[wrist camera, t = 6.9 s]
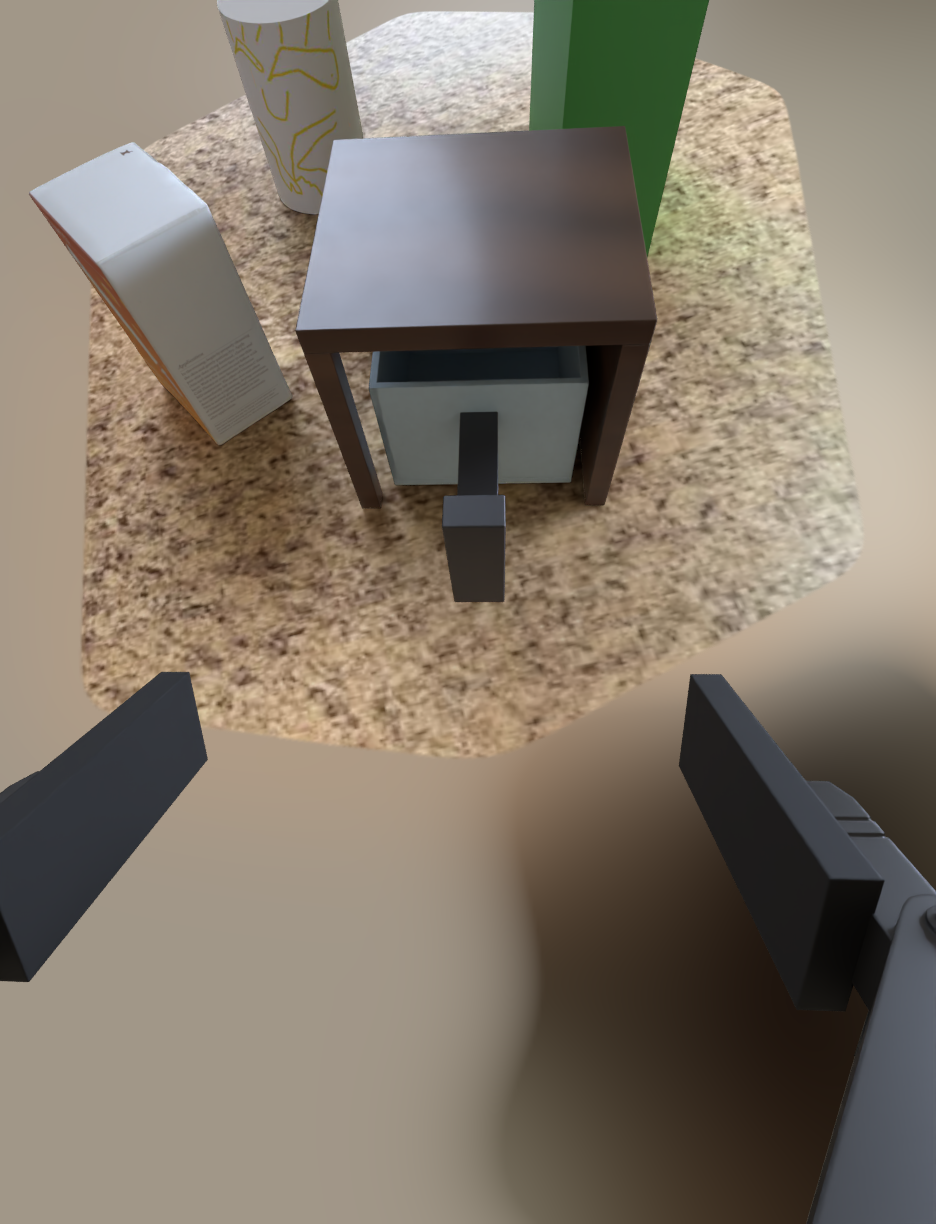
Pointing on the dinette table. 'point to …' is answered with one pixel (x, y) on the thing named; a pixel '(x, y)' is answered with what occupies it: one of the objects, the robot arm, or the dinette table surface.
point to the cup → (295, 88)
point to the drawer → (479, 439)
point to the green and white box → (618, 77)
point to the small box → (168, 285)
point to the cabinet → (481, 268)
